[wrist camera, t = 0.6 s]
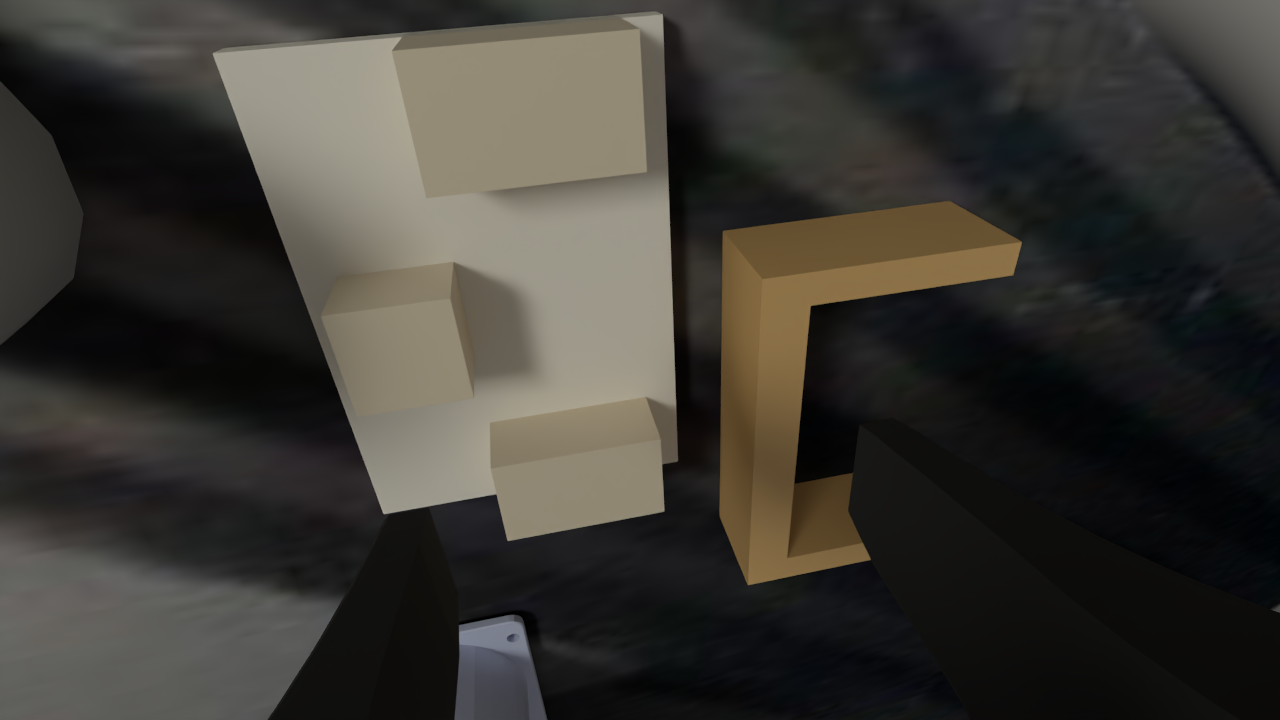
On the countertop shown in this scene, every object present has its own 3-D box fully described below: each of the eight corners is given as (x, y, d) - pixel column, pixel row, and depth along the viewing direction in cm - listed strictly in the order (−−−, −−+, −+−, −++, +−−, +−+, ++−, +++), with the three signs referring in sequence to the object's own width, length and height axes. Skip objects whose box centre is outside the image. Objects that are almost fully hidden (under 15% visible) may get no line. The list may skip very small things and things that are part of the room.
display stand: (655, 11, 17) (686, 24, 14) (672, 446, 24) (694, 505, 22) (224, 48, 15) (173, 70, 13) (386, 497, 23) (375, 566, 20)
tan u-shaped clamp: (949, 200, 21) (1022, 241, 18) (892, 483, 28) (939, 545, 25) (722, 231, 20) (762, 279, 17) (719, 516, 27) (747, 585, 24)
